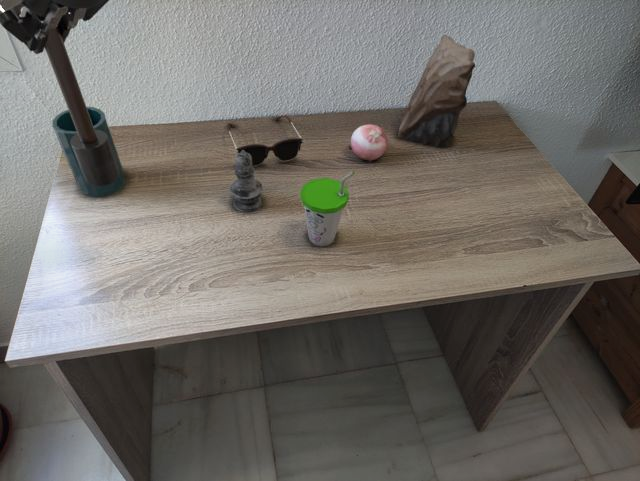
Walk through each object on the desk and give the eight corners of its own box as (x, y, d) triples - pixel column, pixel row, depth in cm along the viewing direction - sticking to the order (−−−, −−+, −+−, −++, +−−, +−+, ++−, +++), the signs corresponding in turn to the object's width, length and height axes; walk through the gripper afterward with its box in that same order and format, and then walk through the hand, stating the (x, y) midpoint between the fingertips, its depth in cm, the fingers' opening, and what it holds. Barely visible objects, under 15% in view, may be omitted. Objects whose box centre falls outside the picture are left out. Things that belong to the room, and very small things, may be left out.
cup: (290, 240, 82) (290, 172, 71) (316, 216, 87) (319, 148, 76) (327, 260, 79) (333, 193, 68) (351, 234, 84) (361, 166, 73)
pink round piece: (358, 169, 97) (362, 140, 92) (342, 148, 102) (344, 119, 96) (391, 161, 99) (397, 132, 94) (374, 141, 104) (378, 112, 99)
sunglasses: (238, 169, 95) (236, 148, 92) (224, 130, 106) (221, 110, 103) (303, 159, 98) (303, 138, 95) (283, 122, 109) (282, 102, 106)
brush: (85, 189, 62) (15, 18, 46) (84, 169, 65) (18, 1, 49) (120, 182, 63) (63, 14, 47) (118, 164, 66) (63, -2, 50)
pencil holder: (80, 201, 87) (52, 137, 76) (78, 174, 92) (52, 110, 82) (127, 192, 89) (106, 128, 79) (123, 166, 94) (103, 103, 84)
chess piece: (257, 189, 91) (253, 136, 82) (268, 208, 88) (265, 155, 79) (227, 196, 89) (221, 144, 80) (237, 216, 86) (231, 163, 77)
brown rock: (416, 112, 113) (435, 28, 99) (466, 130, 109) (493, 44, 94) (394, 137, 106) (411, 49, 91) (447, 156, 101) (473, 68, 87)
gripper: (115, -120, 42) (74, -6, 55) (-43, -96, 34) (-46, 30, 47) (168, -40, 44) (116, 51, 57) (30, 1, 36) (7, 96, 49)
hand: (43, 41), depth 52 cm, fingers closed on brush, 2 cm apart
